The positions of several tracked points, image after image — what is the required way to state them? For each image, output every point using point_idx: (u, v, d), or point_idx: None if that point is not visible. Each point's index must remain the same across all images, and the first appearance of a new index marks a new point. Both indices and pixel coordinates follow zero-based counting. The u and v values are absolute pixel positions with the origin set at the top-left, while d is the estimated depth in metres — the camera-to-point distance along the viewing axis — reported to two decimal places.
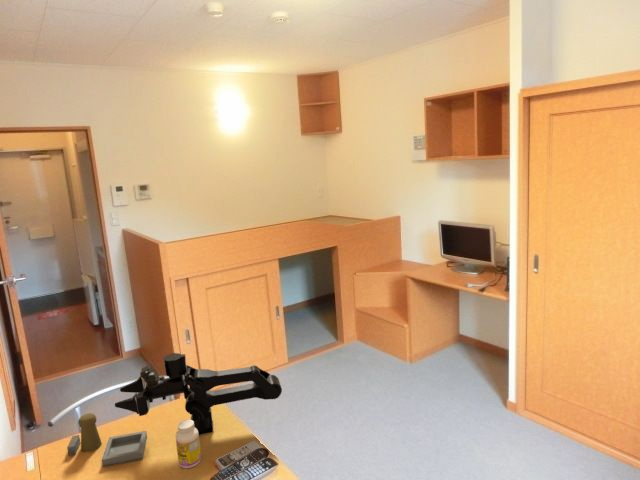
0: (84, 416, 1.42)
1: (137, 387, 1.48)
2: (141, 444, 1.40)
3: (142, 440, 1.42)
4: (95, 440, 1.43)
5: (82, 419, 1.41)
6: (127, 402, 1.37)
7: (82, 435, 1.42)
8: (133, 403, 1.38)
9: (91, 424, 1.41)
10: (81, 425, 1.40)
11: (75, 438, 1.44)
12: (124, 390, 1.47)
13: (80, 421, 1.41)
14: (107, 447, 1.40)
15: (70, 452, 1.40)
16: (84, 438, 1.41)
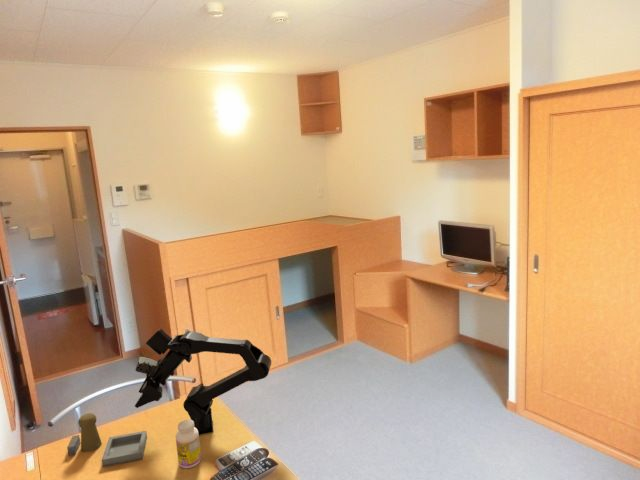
0: (84, 416, 1.42)
1: (151, 380, 1.51)
2: (141, 444, 1.40)
3: (142, 440, 1.42)
4: (95, 440, 1.43)
5: (82, 419, 1.41)
6: (141, 398, 1.40)
7: (82, 435, 1.42)
8: (147, 395, 1.40)
9: (91, 424, 1.41)
10: (81, 425, 1.40)
11: (75, 438, 1.44)
12: None
13: (80, 421, 1.41)
14: (107, 447, 1.40)
15: (70, 452, 1.40)
16: (84, 438, 1.41)
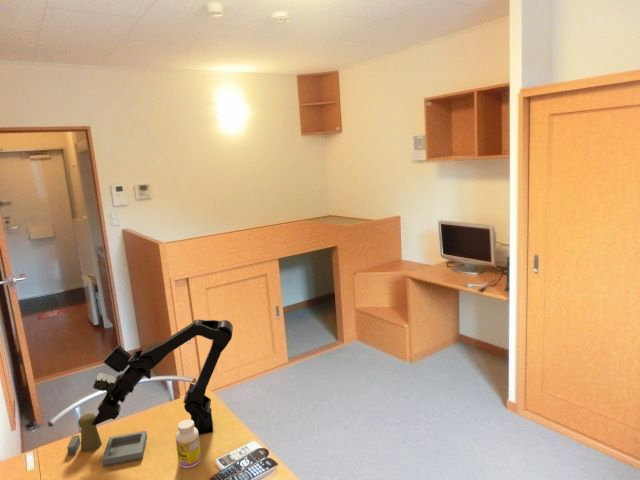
0: (84, 416, 1.42)
1: (111, 397, 1.48)
2: (141, 444, 1.40)
3: (142, 440, 1.42)
4: (95, 440, 1.43)
5: (82, 419, 1.41)
6: (98, 416, 1.38)
7: (82, 435, 1.42)
8: None
9: (91, 424, 1.41)
10: (81, 425, 1.40)
11: (75, 438, 1.44)
12: None
13: (80, 421, 1.41)
14: (107, 447, 1.40)
15: (70, 452, 1.40)
16: (84, 438, 1.41)
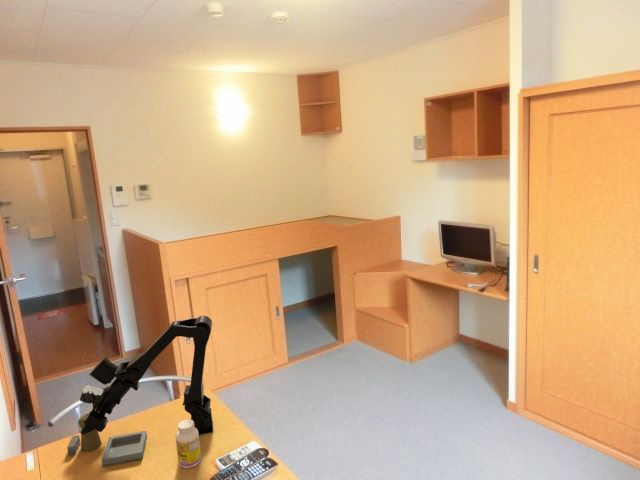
0: (84, 416, 1.42)
1: None
2: (141, 444, 1.40)
3: (142, 440, 1.42)
4: (95, 440, 1.43)
5: (82, 419, 1.41)
6: (87, 425, 1.39)
7: (82, 435, 1.42)
8: None
9: None
10: (81, 425, 1.40)
11: (75, 438, 1.44)
12: None
13: (80, 421, 1.41)
14: (107, 447, 1.40)
15: (70, 452, 1.40)
16: (84, 438, 1.41)
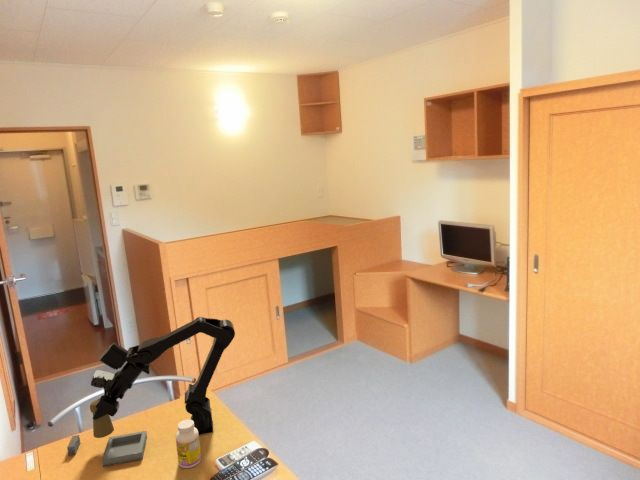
0: (95, 401, 1.40)
1: (109, 397, 1.44)
2: (141, 444, 1.40)
3: (142, 440, 1.42)
4: (107, 425, 1.41)
5: (93, 404, 1.39)
6: (99, 410, 1.37)
7: (94, 420, 1.40)
8: None
9: None
10: (93, 410, 1.38)
11: (75, 438, 1.44)
12: None
13: (92, 406, 1.39)
14: (107, 447, 1.40)
15: (70, 452, 1.40)
16: (96, 424, 1.39)
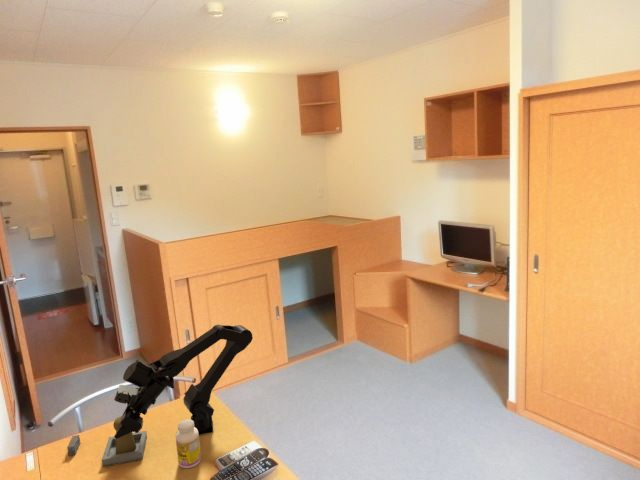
0: (119, 419, 1.39)
1: (132, 409, 1.44)
2: (141, 444, 1.40)
3: (142, 440, 1.42)
4: (130, 443, 1.39)
5: (117, 422, 1.37)
6: (121, 428, 1.34)
7: (117, 438, 1.38)
8: None
9: None
10: (117, 428, 1.37)
11: (75, 438, 1.44)
12: None
13: (115, 424, 1.37)
14: (107, 447, 1.40)
15: (70, 452, 1.40)
16: (119, 441, 1.38)
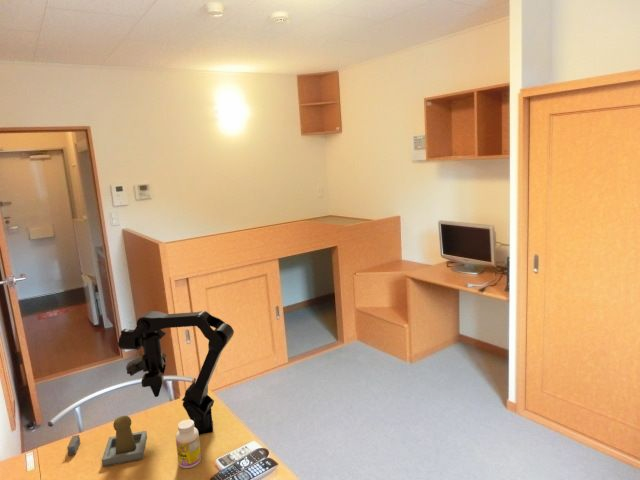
0: (119, 419, 1.39)
1: None
2: (141, 444, 1.40)
3: (142, 440, 1.42)
4: (130, 443, 1.39)
5: (117, 422, 1.37)
6: (152, 387, 1.46)
7: (117, 438, 1.38)
8: None
9: (126, 427, 1.38)
10: (116, 428, 1.37)
11: (75, 438, 1.44)
12: None
13: (115, 424, 1.37)
14: (107, 447, 1.40)
15: (70, 452, 1.40)
16: (119, 441, 1.38)
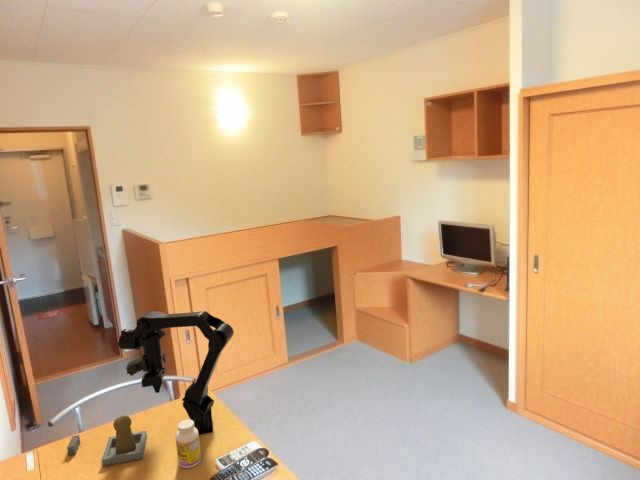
0: (119, 419, 1.39)
1: None
2: (141, 444, 1.40)
3: (142, 440, 1.42)
4: (130, 443, 1.39)
5: (117, 422, 1.37)
6: None
7: (117, 438, 1.38)
8: None
9: (127, 427, 1.38)
10: (117, 428, 1.37)
11: (75, 438, 1.44)
12: None
13: (115, 424, 1.37)
14: (107, 447, 1.40)
15: (70, 452, 1.40)
16: (119, 441, 1.38)
